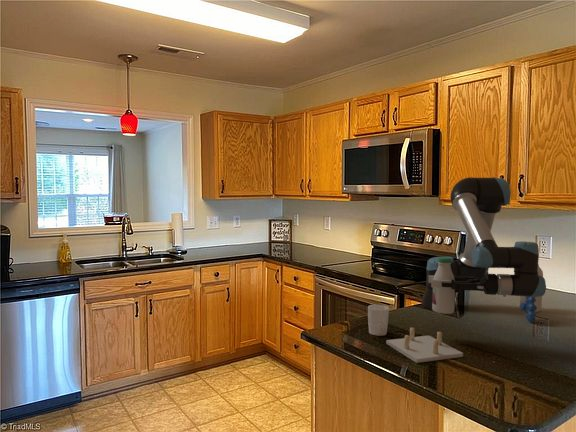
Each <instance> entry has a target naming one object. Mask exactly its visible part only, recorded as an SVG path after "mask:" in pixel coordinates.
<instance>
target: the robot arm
mask: <svg viewBox="0 0 576 432" xmlns="http://www.w3.org/2000/svg"><path fill="white" fill-rule="evenodd" d="M510 201H511V188H510V185H509V183H508V181H507V180H506V179H505V178H501V177H472V176H470V177H465V178H462V179H459V180H458V181H457V183H455V184H454V186H453V187H452V189H451V191H450V203H451V205H452V207H453V209H454V210H455V211H457V213H458V214H459V217H460V219H461V222H462V224H463V225H464V229H465V230H466V233H467V237H466V243H465V246H464V250H463V252H462V253H460V254H459V257H458V259H454V258H453V257H452V256H447V257H448V258H451V265H450V266H451V270H452V273H453V275H454V279H455V281H454V280H453V279H452V280H451V281H449V280H433V279H434V275H435V273H436V271H437V269H438V266H439V264H438V258H439V257H440V256H434V257H431V258H429V259H428V260H427V263H426V284H425V285H426V286H425V291H424V293H423V298H422V299H421V306H423V307H425V308H427V309H430V310H433V309H432V298H433V288H451V289H454V290H455V291H473V292H474V291H478V292H483V293H484V294H485V295H491V296H493V295H494V296H496V295H498V296H502V297H507V296H512V297H513V296H515V297H520V296H526V297H541V296H542V297H543V296H544V295H545V294H546V290H547V285H546V279H545V278H544V276H543V277H542V276H539V275H538V264H539V257H540V251H539V250H540V249H539V244H538V243H537V242H534V241H525V240H524V241H520V240H519V241H516V242H515V243H514V245H513V246H498V244H497V242H496V240H495V238H494V236H493V234H492V232H491V231H492V227H493V223H494V221H495V216H496V214H498V213H501V210H502V206H503V207H505V206H507V205H509V203H510ZM441 257H445V256H441ZM489 269H513V272H514V273H513V274H510V273H509V274H508V273H497V274H496V273H489ZM456 307H457V303H456V302H455V306H454V310H455V309H456Z"/></svg>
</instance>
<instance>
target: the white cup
mask: <svg viewBox="0 0 576 432" xmlns="http://www.w3.org/2000/svg"><path fill="white" fill-rule="evenodd" d="M389 312H390V307H389V306H388V305H382V304H369V305H368V306H367V323H368V333H369V334H370V335H372V336H377V337H378V336H379V337H381V336H386V335H388V334H387V333H388V325H389V314H390V313H389Z"/></svg>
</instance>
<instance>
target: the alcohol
mask: <svg viewBox="0 0 576 432" xmlns="http://www.w3.org/2000/svg"><path fill="white" fill-rule="evenodd" d="M543 271H544V270H543V269H542V268H541V267H540V265H539V263H538V275H539V276H542V277H544V272H543ZM535 299H536V301H535V302H534V305H535V306H536V307H537V309H536V310H535V311H534V313H539V312H541V310H542V305H543V302H542V301H543V296H541V297H535ZM526 300H527V299H526V296H519V306H520V305H521V304H522V303H525V301H526ZM523 311H524V312H525V310H523Z"/></svg>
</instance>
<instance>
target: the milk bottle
mask: <svg viewBox="0 0 576 432" xmlns="http://www.w3.org/2000/svg"><path fill="white" fill-rule="evenodd" d="M438 257H439V258H438V264H439V266H438V269H437V271H436V273H435V275H434V279H433V280H449V281H451V280H452V279H453V280H454V281H455V279H454V275H453V273H452V270H451V266H450V265H451V258H448V257H449V256H444V257H442V256H438ZM455 303H456V290H454V289H451V288H433V298H432V309H431V310H432V311H433V312H434V313H439V314H443V315H444V314H447V315H449V314H453V313H454V312H455V309H454V306H455Z"/></svg>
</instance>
